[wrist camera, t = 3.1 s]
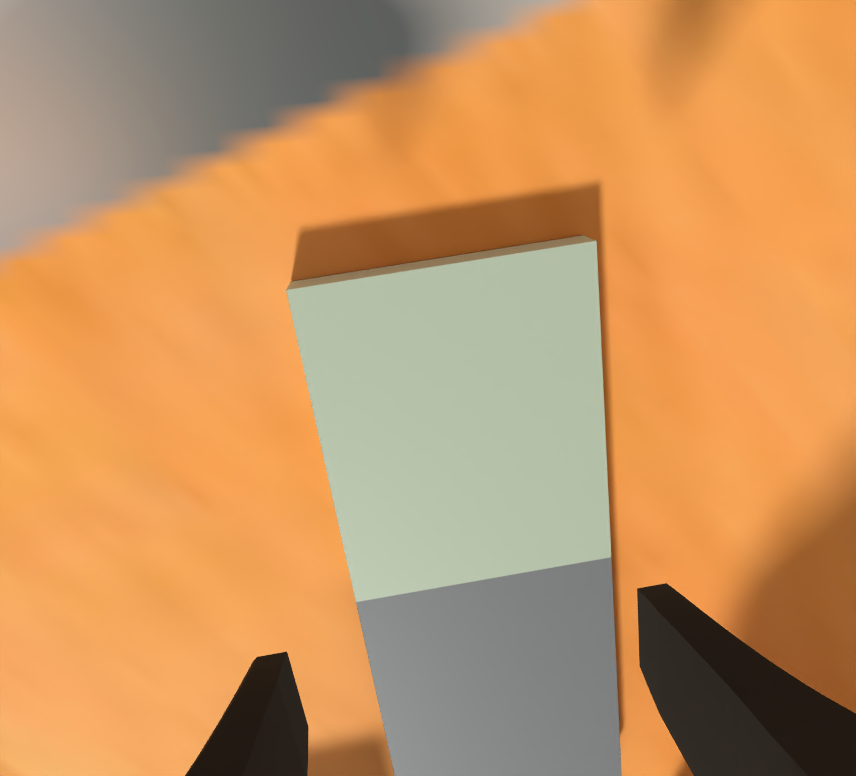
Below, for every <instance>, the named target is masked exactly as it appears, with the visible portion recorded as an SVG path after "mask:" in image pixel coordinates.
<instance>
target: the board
mask: <svg viewBox="0 0 856 776" xmlns="http://www.w3.org/2000/svg"><path fill="white" fill-rule="evenodd" d="M286 291H287V296H288V300H289V305H290V309H291V314H292V318H293V323H294V327H295V332H296V336H297V341H298V345H299V350H300V354H301V359H302V363H303V367H304V372H305V376H306V381H307V385H308V390H309V394H310V399H311V403H312V408H313V412H314V417H315V421H316V426H317V430H318V435H319V439H320V443H321V448H322V452H323V457H324V461H325V466H326V470H327V475H328V479H329V484H330V488H331V493H332V497H333V502H334V506H335V511H336V515H337V519H338V524H339V528H340V533H341V537H342V542H343V546H344V551H345V555H346V560H347V564H348V569H349V573H350V578H351V582H352V587H353V591H354V595H355V600H356V604H357V609H358V613H359V618H360V622H361V627H362V631H363V636H364V640H365V645H366V649H367V654H368V658H369V663H370V667H371V672H372V676H373V680H374V685H375V689H376V694H377V698H378V703H379V707H380V712H381V716H382V721H383V725H384V730H385V734H386V739H387V743H388V748H389V752H390V756H391V761H392V765H393V770H394V774H395V776H622V775H621V753H620V732H619V711H618V689H617V668H616V647H615V625H614V604H613V583H612V561H611V540H610V518H609V497H608V476H607V454H606V433H605V412H604V390H603V369H602V348H601V326H600V305H599V284H598V262H597V241H596V240H593V239H591V238H589V237H586V236H584V235H582V236H576V237H569V238H563V239H557V240H551V241H544V242H538V243H532V244H525V245H519V246H513V247H506V248H500V249H494V250H487V251H481V252H475V253H469V254H462V255H456V256H450V257H443V258H437V259H431V260H424V261H418V262H412V263H405V264H399V265H393V266H387V267H380V268H374V269H368V270H361V271H355V272H349V273H342V274H336V275H330V276H323V277H317V278H311V279H305V280H298V281H292V282H290V284H289V286H288V288H287V290H286Z"/></svg>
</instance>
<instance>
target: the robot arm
mask: <svg viewBox="0 0 856 776" xmlns="http://www.w3.org/2000/svg"><path fill="white" fill-rule="evenodd" d="M637 594H638V626H639V658H640V668H641V670H642V673H643V675H644V678H645V680H646V682H647V685H648V687H649V690H650V692H651V695H652V697H653V699H654V702H655V704H656V706H657V709H658V711H659V713H660V715H661V717H662V719H663V721H664V723H665V725H666V726H667V728H668V730H669V732H670V734H671V735H672V737H673V739H674V741H675V743H676V744H677V746H678V748H679V750H680V752H681V753H682V755H683V757H684V759H685V761H686V762H687V764H688V766H689V768H690V769H691V771H692V773H693V775H694V776H856V714H855V713H853V712H852V711H850V710H848V709H846V708H845V707H843V706H841V705H839V704H838V703H836V702H834V701H832V700H831V699H829V698H827V697H825V696H824V695H822V694H820V693H819V692H817V691H815V690H814V689H812V688H810V687H809V686H807V685H805V684H804V683H802V682H801V681H799V680H798V679H796V678H795V677H793V676H791V675H790V674H788V673H787V672H785V671H784V670H782V669H781V668H779V667H778V666H776V665H775V664H773V663H772V662H770V661H769V660H767V659H766V658H765V657H763V656H762V655H760V654H759V653H758V652H756V651H755V650H753V649H752V648H751V647H749V646H748V645H746V644H745V643H744V642H742V641H741V640H740V639H738V638H737V637H735V636H734V635H733V634H731V633H730V632H729V631H727V630H726V629H725V628H723V627H722V626H721V625H719V624H718V623H717V622H716V621H714V620H713V619H712V618H710V617H709V616H708V615H707V614H705V613H704V612H703V611H701V610H700V609H699V608H698V607H696V606H695V605H694V604H692V603H691V602H690V601H689V600H687V599H686V598H685V597H684V596H682V595H681V594H680V593H678V592H677V591H676V590H675V589H673V588H672V587H671V586H669V585H668V584H667V583H666V584H660V585H655V586H649V587H644V588H638V589H637ZM307 768H308V724H307V721H306V717H305V714H304V710H303V707H302V703H301V700H300V696H299V692H298V689H297V685H296V682H295V678H294V675H293V671H292V668H291V664H290V661H289V657H288V654H287V652H283V653H277V654H272V655H266V656H260V657H257V658H256V659H255V660H254V661H253V663H252V665H251V666H250V668H249V670H248V672H247V674H246V676H245V677H244V679H243V681H242V683H241V685H240V686H239V688H238V690H237V692H236V694H235V695H234V697H233V699H232V701H231V702H230V704H229V706H228V708H227V709H226V711H225V713H224V715H223V716H222V718H221V720H220V721H219V723H218V725H217V726H216V728H215V730H214V731H213V733H212V734H211V736H210V738H209V739H208V741H207V743H206V744H205V746H204V748H203V749H202V751H201V752H200V754H199V755H198V757H197V759H196V760H195V762H194V763H193V765H192V766H191V768H190V769H189V771H188V772H187V774H186V775H185V776H307Z"/></svg>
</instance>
